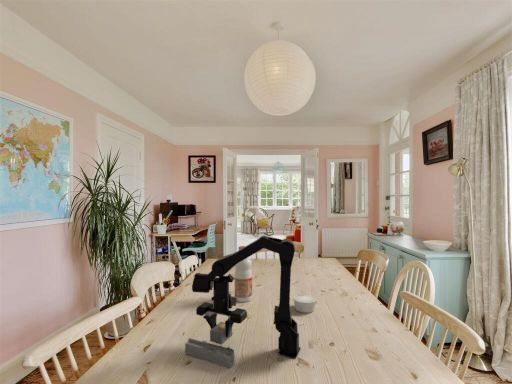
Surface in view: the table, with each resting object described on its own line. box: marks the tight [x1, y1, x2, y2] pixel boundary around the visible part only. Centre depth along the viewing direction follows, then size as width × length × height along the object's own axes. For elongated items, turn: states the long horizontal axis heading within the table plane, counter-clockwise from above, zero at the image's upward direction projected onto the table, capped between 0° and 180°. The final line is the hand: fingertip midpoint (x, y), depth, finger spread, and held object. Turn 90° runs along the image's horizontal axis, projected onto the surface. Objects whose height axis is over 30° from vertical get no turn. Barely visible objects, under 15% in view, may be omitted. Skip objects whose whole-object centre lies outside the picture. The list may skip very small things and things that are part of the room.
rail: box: [184, 337, 235, 369], centre depth 92 cm, size 18×6×5 cm, turn 67°
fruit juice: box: [233, 245, 253, 303], centre depth 142 cm, size 9×9×28 cm
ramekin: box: [292, 294, 317, 314], centre depth 129 cm, size 11×11×5 cm
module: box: [209, 321, 233, 346], centre depth 97 cm, size 5×7×5 cm
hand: (221, 335), depth 97 cm, fingers closed on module, 5 cm apart
